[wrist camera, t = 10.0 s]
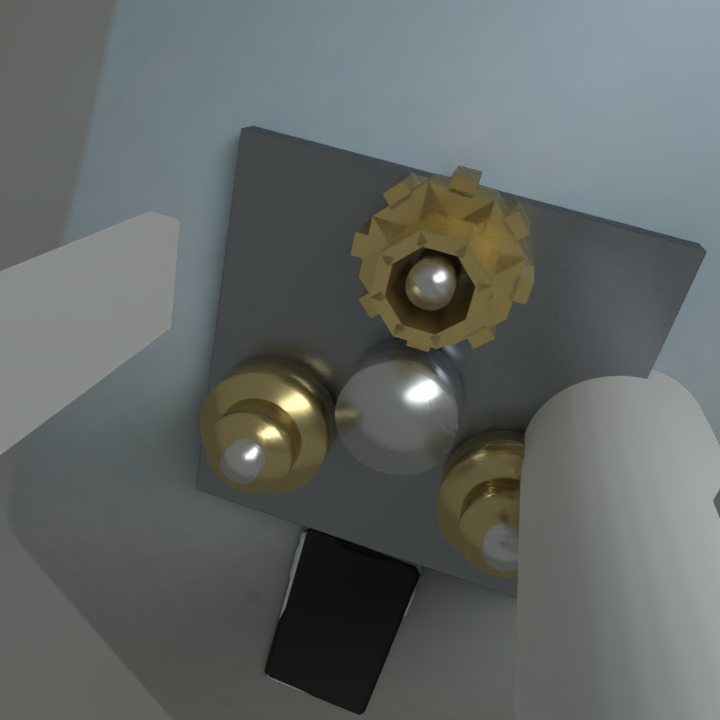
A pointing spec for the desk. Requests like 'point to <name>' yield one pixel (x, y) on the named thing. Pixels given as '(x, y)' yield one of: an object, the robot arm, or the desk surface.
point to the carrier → (406, 361)
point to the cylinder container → (619, 556)
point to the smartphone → (339, 618)
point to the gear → (452, 236)
